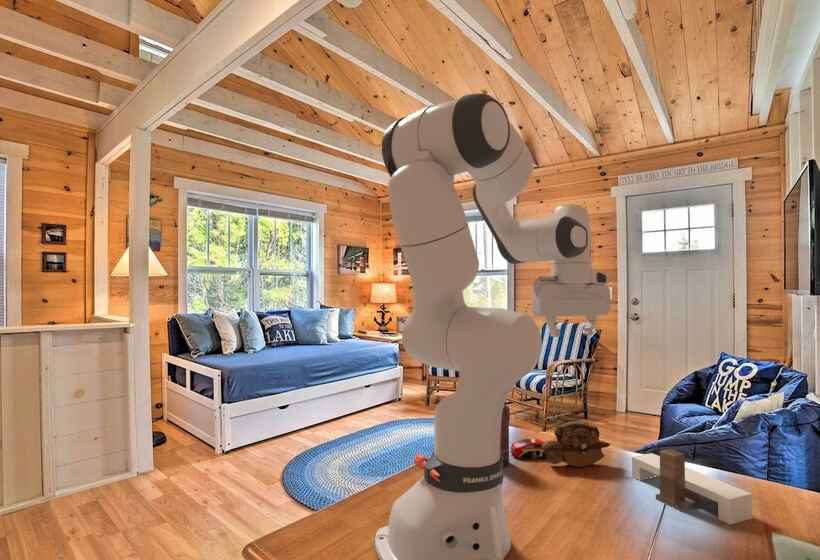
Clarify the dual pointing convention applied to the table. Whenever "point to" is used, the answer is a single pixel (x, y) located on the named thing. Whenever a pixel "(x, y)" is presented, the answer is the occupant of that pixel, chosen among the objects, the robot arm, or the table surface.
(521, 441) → the race car
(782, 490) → the table surface
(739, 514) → the low shelf
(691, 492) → the brown l-shaped block
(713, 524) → the table surface
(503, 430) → the can
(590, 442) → the wooden carving
